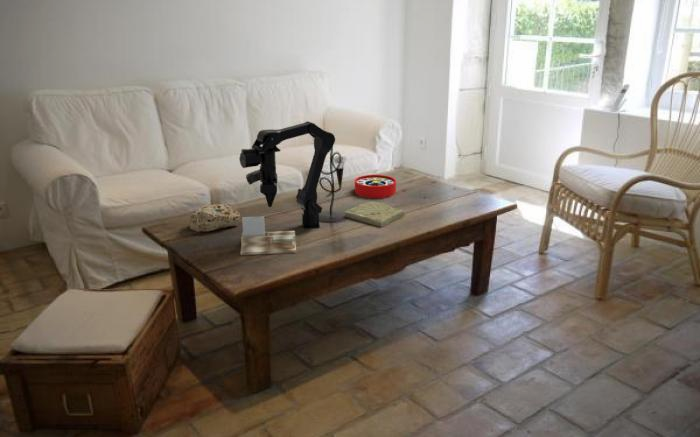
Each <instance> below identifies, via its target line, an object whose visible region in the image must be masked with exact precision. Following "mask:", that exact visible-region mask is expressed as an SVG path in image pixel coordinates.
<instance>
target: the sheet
mask: <svg viewBox="0 0 700 437" xmlns="http://www.w3.org/2000/svg"><path fill="white" fill-rule="evenodd" d="M241 221H242V222H241V223H242V233H243V237H254V236H265V232H266V227H265V226H266V225H265V216H263V215H262V216H244V217H243V216H241Z"/></svg>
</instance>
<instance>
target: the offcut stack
mask: <svg viewBox="0 0 700 437" xmlns="http://www.w3.org/2000/svg"><path fill="white" fill-rule="evenodd" d="M295 243H296V240H295V241H293V235H288V236H273V239H271V241H270V249H287V248H295Z"/></svg>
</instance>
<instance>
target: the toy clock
mask: <svg viewBox="0 0 700 437" xmlns="http://www.w3.org/2000/svg"><path fill="white" fill-rule="evenodd" d="M354 193H355V194H356V195H357V196H359V197H363V198H367V199H368V198H369V199H382V198H388V197H392V196H395V195H396V193H397V180H396V178H395V177H392V176H389V175H385V174H384V175H383V174H367V175H361V176H358V177H356V178H355V179H354Z"/></svg>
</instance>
